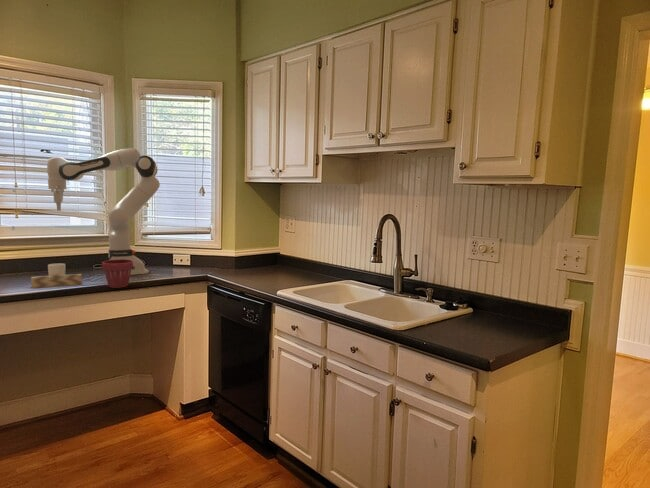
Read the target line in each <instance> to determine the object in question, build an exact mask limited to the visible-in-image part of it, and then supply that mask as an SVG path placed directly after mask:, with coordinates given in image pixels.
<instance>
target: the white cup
mask: <svg viewBox="0 0 650 488" xmlns="http://www.w3.org/2000/svg"><path fill="white" fill-rule="evenodd" d="M47 272H48V274H47V275H48V276H55V275H66V263H49V264H47Z"/></svg>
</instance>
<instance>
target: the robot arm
mask: <svg viewBox="0 0 650 488" xmlns="http://www.w3.org/2000/svg"><path fill="white" fill-rule="evenodd" d="M128 168H135V169H136V170H137V173H138V174H139V175H140V177H141V178H140V180H139V181H138V182H137V183H136V184H135V185H134V186H133V187H132V188H131V189H130V190H129V191H128V192H127V193H126V194H125V195H124V197H122V198H121V199H120V200H119V201H118V202H117V204H116V205H114V206H113V207H112V208H111V209H110V210H109V212H108V215H107V216H108V239H109V241H108V245H109V249H108V260H116V259H127V260H132V261H133V268H132V269H131V273H130V276H132V275H133V276H134V275H143V274H148V273H149V272H150V271H149V269H147V268H146V267H145V263H144V261H142V260H141V259H140V258H138V257H137V256H136V255H135V254H136V250H134V249H132V248H131V235H130V234H131V233H130V232H131V229H130V221H131V220H132V218H133V217H134V216H135V215H136V214H137V213H138V212H139V211H140V210H141V209H142V208H143V207H144V206H145V204H146V203H148V202H149V201H150V200H151V199H152V197H154V195H155V194H156V193H157V191H158V190H159V189H160V186H161V183H160V181H159V179H158V178H157V177H156V175H157V173H158V165H157V162H156V161H155V160H154V159H153V158H152V157H151V156H149V155H141V153H140V152H139V151H138V149H136V148H134V147H128V148H121V149H118V150H117V149H116V150H114V151H111V152H108V153H105V154H103V155H101V156H98V157H96V158H91V159H88V160H83V161H79V162H74V161H69V160H67V159H65V158H64V157H62V156H55V157H50V158H49V159H48V160H47V165H46V172H47V175H48V179H47V186H48V190H50V192H51V193H53V202H54V203H55V205H56V210H57V212H59V211H60V212H61V210H62V203H63V200H64V192H65V190H67V181H79V180H81V179H82V178H83V177H84V175H85V174H87V173H90V172H95V171H102V170H104V171H120V170H121V171H122V170H125V169H128Z"/></svg>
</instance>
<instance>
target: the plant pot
mask: <svg viewBox="0 0 650 488" xmlns="http://www.w3.org/2000/svg"><path fill="white" fill-rule="evenodd" d="M101 267H102V270H103V271H104V274H105V279H106V281H107V284H108V287H109V288H111V289H112V288H116V289H119V288H124V287H127V286H129V283H130V282H129V281H130V277H131V275H130V273H131V269H132V268H133V261H132V260H127V259H116V260H109V259H108V260H104V261H102V262H101Z"/></svg>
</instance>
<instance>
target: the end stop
mask: <svg viewBox="0 0 650 488" xmlns="http://www.w3.org/2000/svg"><path fill="white" fill-rule="evenodd" d="M82 274H83V273H77V274H74V273H73V274H65V275H55V276H49V275H39V276H31V277H30V281H31V283H30V284H31V285H30V286H31V289H32V288H35V289H36V288H45V287H47V288H48V287H61V286H76V285H77V286H78V285H83V278H82V277H83V275H82Z"/></svg>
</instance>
